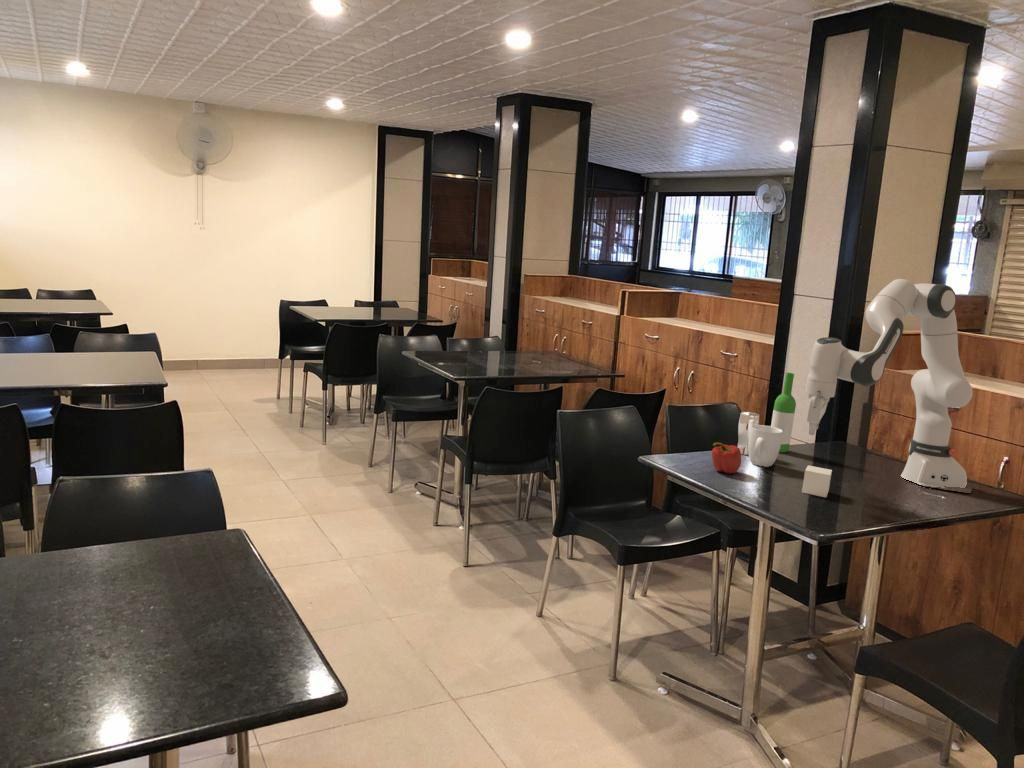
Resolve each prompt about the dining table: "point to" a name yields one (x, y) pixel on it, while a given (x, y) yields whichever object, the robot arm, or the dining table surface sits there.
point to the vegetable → (726, 458)
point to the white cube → (816, 481)
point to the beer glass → (746, 430)
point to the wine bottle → (785, 412)
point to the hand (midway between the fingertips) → (813, 432)
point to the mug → (764, 444)
